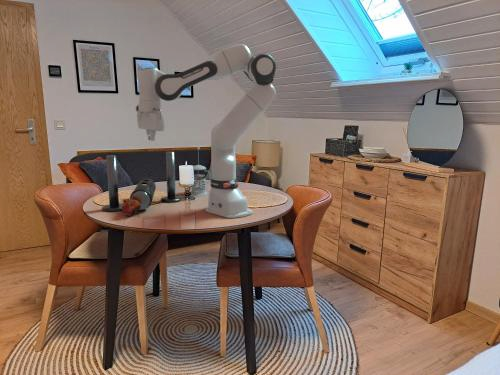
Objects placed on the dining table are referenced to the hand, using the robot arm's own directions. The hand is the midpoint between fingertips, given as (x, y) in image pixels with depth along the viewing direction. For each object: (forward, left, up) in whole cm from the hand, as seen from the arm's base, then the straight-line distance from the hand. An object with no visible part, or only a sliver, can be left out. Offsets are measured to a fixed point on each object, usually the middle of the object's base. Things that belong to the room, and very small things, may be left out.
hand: (151, 140), depth 155 cm
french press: (+17, -34, -31) cm, 49 cm away
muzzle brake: (+11, 0, -32) cm, 33 cm away
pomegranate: (-3, +11, -31) cm, 33 cm away
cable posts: (+11, 0, -31) cm, 33 cm away
